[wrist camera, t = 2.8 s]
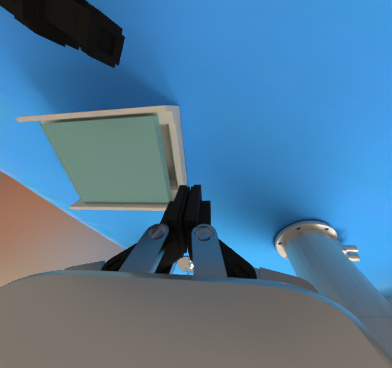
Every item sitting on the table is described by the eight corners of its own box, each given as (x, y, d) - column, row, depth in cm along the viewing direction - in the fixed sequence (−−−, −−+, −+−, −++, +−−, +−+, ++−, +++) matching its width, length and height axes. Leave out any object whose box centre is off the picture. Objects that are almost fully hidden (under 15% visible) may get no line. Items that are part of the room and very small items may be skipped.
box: (179, 105, 23) (165, 105, 16) (187, 187, 30) (180, 210, 23) (68, 114, 25) (15, 117, 18) (100, 187, 32) (71, 209, 26)
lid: (157, 115, 19) (152, 116, 17) (172, 196, 25) (169, 202, 24) (54, 122, 21) (40, 123, 19) (90, 196, 27) (82, 202, 26)
